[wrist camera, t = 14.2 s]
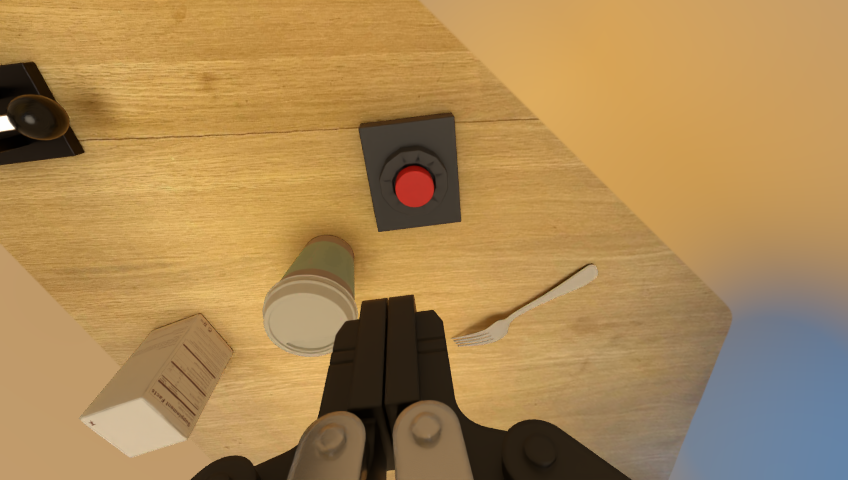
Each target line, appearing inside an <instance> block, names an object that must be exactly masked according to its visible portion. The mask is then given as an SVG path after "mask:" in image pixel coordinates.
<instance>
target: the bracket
mask: <svg viewBox="0 0 848 480" xmlns="http://www.w3.org/2000/svg"><path fill="white" fill-rule="evenodd" d="M25 94H35V95H41V96H45V97H47V98H50V99H52V100H54V101H55V99H54V97H53V96H52V94H51V92H50V90H49V89H48V87H47V85H46V83H45V81H44V80H43V78H42V76H41V74H40V73H39V71H38V69H37V67H36V65H35V64H34V63H33V62H27V63H16V64H8V65H0V115H4V114H6V108H7V105H8V104H9V102H10V101H11V100H12V99H14V98H16V97H18V96H21V95H25ZM55 102H56V101H55ZM82 153H84V151H83V149H82V147H81V145H80V144H79V142H78V140H77V138H76V136H75V135H74V133H73V131H72V129H71V128H70V126H69V128H68V130H67V131H66V133H65V134H64V135H62V136H61V137H59V138H56V139H52V140H37V139H33V138H30V137H27V136H25V135H23V134H21V133H20V132H18V131H17V130H11V131H5V132H0V165H5V164H13V163H21V162H29V161H37V160H45V159H53V158H61V157H69V156H76V155H79V154H82Z"/></svg>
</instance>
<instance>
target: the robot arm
mask: <svg viewBox="0 0 848 480" xmlns="http://www.w3.org/2000/svg"><path fill="white" fill-rule="evenodd" d="M388 470H395V479H396V480H631V479H630V478H628V477H627V476H626V475H624V474H623V473H621V472H620V471H619V470H617V469H616V468H614V467H613V466H612V465H610V464H609V463H607V462H606V461H605V460H603V459H602V458H600V457H599V456H598V455H596V454H595V453H593V452H592V451H591V450H589V449H588V448H586V447H585V446H584V445H582V444H581V443H579V442H578V441H577V440H575V439H574V438H572V437H571V436H570V435H568V434H567V433H565V432H564V431H563V430H561V429H560V428H558V427H557V426H555V425H553V424H551V423H549V422H546V421H542V420H524V421H521V422H518V423H517V424H515V425H513V426H512V427H511V428H510V429H509V430H508V431H503V430H498V429H493V428H488V427H484V426H481V425H479V424H476V423H474V422H473V421H471V420H469V419H468V418H467V417H466V416H465V415H464V414H463V413H462V412H461V411H460V409H459V407H458V405H457V403H456V400H455V396H454V389H453V383H452V377H451V371H450V364H449V358H448V352H447V345H446V339H445V333H444V326H443V321H442V320H441V319H440V317H439V316H438V315H437V314H436V312H435V311H434V310H429V311H421V312H417V311H416V305H415V298H414V295H406V296H398V297H390V298H389V300H388V298H383V299H375V300H367V301H362V304H361V311H360V318H359V319H358V320H350V321H345V323H344V324H343V325H342V327H341V328H340V329H339V331H338V332H337V334H336V335H335V340H334V345H333V353H332V354H331V359H330V366H329V368H328V373H327V378H326V382H325V387H324V392H323V397H322V401H321V406H320V411H319V415H318V418H317V420H316V421H314V422H313V423H312V424H311V425H310V426H309V427H308V428H307V429H306V430H305V432H304V433H303V435H302V437H301V439H300V441H299V444H298V445H297V446H295V447H294V448H292V449H291V450H289V451H287V452H285V453H283V454H281V455H279V456H276V457H274V458H272V459H270V460H267V461H265V462H263V463H261V464H258V465H256V466H253V464H252V463H251V461H250V460H248V459H247V458H245V457H242V456H236V455H235V456H228V457H224V458H221V459H218V460H216V461H214V462H212V463H211V464H209V465H208V466H206V467H205V468H203V469H202V470H201V471H200V472H199V473H197V474H196V475H195V476H194V477H193V478H192V479H191V480H386V472H387V471H388Z"/></svg>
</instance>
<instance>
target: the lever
mask: <svg viewBox="0 0 848 480" xmlns="http://www.w3.org/2000/svg"><path fill="white" fill-rule="evenodd" d="M68 128H69V117H68V115H67V113H66V111H65V110H64V109H63V107H62V106H61V105H59V104H58V103H57V102H55V101H54V100H52V99H50V98H47V97H45V96H41V95H35V94H25V95H21V96H18V97H16V98H14V99H12V100H11V101H10V102H9V104H8V105H7V108H6V114H4V115H0V132H5V131H11V130H17V131H18V132H20V133H21V134H23V135H25V136H27V137H30V138H33V139H37V140H52V139H56V138H59V137H61V136H62V135H64V134H65V133H66V131H67V130H68Z"/></svg>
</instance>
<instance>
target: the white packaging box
mask: <svg viewBox="0 0 848 480" xmlns="http://www.w3.org/2000/svg"><path fill="white" fill-rule="evenodd" d="M232 354H233V351H232V349H231V348H230V347H229V346H228V344H227V343H226V342H225V341H224V340H223V339H222V337H221V336H220V335H219V334H218V333H217V332H216V330H215V329H214V328H213V327H212V326H211V325H210V324H209V322H208V321H207V320H206V319H205V318H204V317H203V316H202V315H201V314H197V315H195V316H192V317H189V318H186V319H183V320H180V321H178V322H175V323H172V324H169V325H166V326H164V327H161V328H158V329H155V330H152V331H151V333H150V334H149V335H148V336H147V338H146V339H145V340H144V341H143V342H142V343H141V345H140V346H139V347H138V348H137V349H136V351H135V352H134V353H133V354H132V355H131V357H130V358H129V359H128V360H127V361H126V363H125V364H124V365H123V366H122V367H121V369H120V370H119V371H118V372H117V373H116V375H115V376H114V377H113V378H112V379H111V381H110V382H109V383H108V384H107V385H106V386H105V388H104V389H103V390H102V391H101V392H100V394H99V395H98V396H97V397H96V398H95V400H94V401H93V402H92V403H91V404H90V406H89V407H88V408H87V409H86V410H85V412H84V413H83V414H82V415H81V416H80V418H79V419H80V420H81V421H82V422H83V423H84V424H85V425H87V426H88V427H89V428H91V429H92V430H93V431H94V432H96V433H97V434H98V435H100V436H101V437H103V438H104V439H105V440H107V441H108V442H109V443H111V444H112V445H114V446H115V447H116V448H117V449H119V450H120V451H122V452H123V453H124V454H126V455H127V456H129V457H135V456H138V455H141V454H144V453H147V452H150V451H154V450H156V449H160V448H163V447H166V446H169V445H173V444H176V443H179V442H182V441H186V440H188V438H189V436H190V434H191V432H192V430H193V428H194V426H195V425H196V423H197V421H198V419H199V417H200V415H201V413H202V411H203V409H204V407H205V405H206V404H207V402H208V400H209V398H210V396H211V394H212V392H213V390H214V388H215V386H216V384H217V382H218V381H219V379H220V377H221V375H222V373H223V371H224V369H225V367H226V365H227V363H228V361H229V359H230V357H231V356H232Z"/></svg>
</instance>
